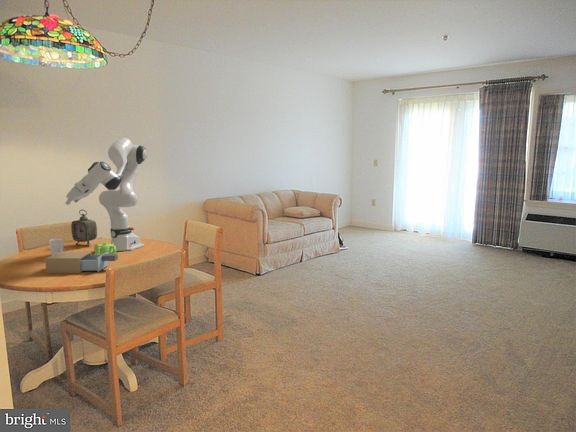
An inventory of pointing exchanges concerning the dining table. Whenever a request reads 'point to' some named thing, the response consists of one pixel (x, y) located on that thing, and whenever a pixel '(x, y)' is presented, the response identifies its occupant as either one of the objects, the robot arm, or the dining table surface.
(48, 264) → the sleeve
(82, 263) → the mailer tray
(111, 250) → the teapot
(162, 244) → the dining table surface
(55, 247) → the white cup
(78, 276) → the dining table surface
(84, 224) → the tabletop clock
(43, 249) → the dining table surface
